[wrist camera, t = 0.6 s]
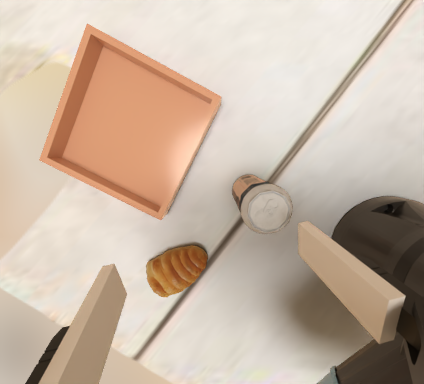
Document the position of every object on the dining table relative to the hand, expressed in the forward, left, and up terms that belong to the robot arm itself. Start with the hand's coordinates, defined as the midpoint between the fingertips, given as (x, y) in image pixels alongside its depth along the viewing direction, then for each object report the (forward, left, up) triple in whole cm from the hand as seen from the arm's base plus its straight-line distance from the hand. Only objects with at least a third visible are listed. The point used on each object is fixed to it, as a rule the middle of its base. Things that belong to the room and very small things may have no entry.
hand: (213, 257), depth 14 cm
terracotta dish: (+15, -4, -16) cm, 22 cm away
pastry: (+1, +12, -16) cm, 20 cm away
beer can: (-3, -4, -16) cm, 17 cm away
